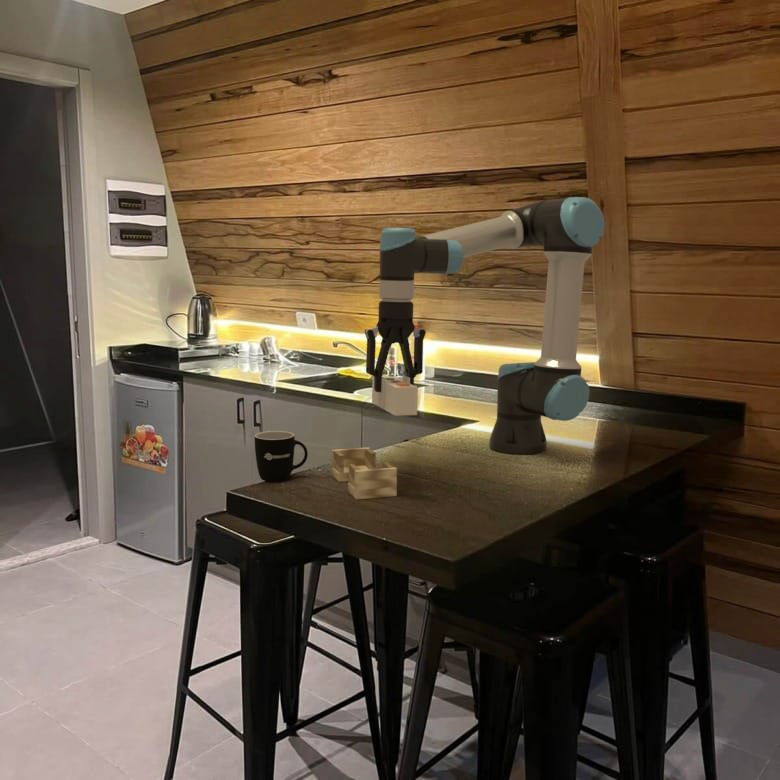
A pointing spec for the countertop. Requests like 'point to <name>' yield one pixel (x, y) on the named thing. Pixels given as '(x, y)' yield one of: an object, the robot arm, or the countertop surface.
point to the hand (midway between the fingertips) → (393, 405)
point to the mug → (276, 455)
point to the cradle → (364, 473)
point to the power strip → (398, 396)
